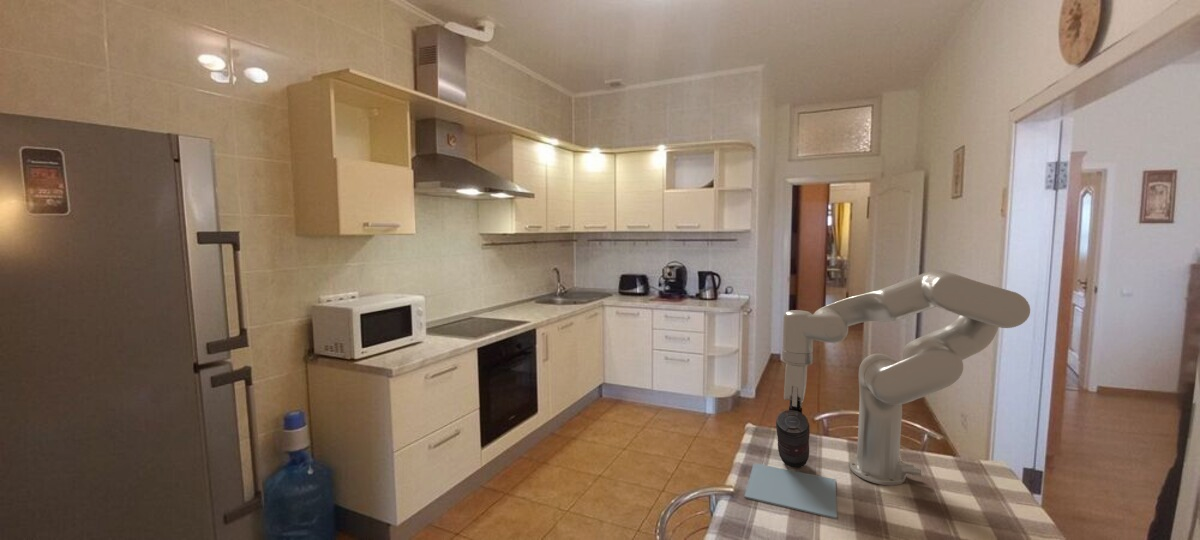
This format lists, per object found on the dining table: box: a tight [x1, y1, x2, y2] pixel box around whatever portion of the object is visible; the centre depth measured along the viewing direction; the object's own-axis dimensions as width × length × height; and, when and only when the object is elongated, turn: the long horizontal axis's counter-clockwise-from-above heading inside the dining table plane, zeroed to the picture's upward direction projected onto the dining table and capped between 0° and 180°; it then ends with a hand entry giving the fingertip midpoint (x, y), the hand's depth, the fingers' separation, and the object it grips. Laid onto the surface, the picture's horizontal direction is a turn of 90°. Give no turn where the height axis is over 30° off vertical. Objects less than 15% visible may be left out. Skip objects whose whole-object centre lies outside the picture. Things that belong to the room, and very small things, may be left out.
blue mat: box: [743, 462, 838, 520], centre depth 117 cm, size 20×17×1 cm
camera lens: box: [775, 409, 811, 469], centre depth 125 cm, size 8×8×15 cm
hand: (795, 421), depth 128 cm, fingers closed
